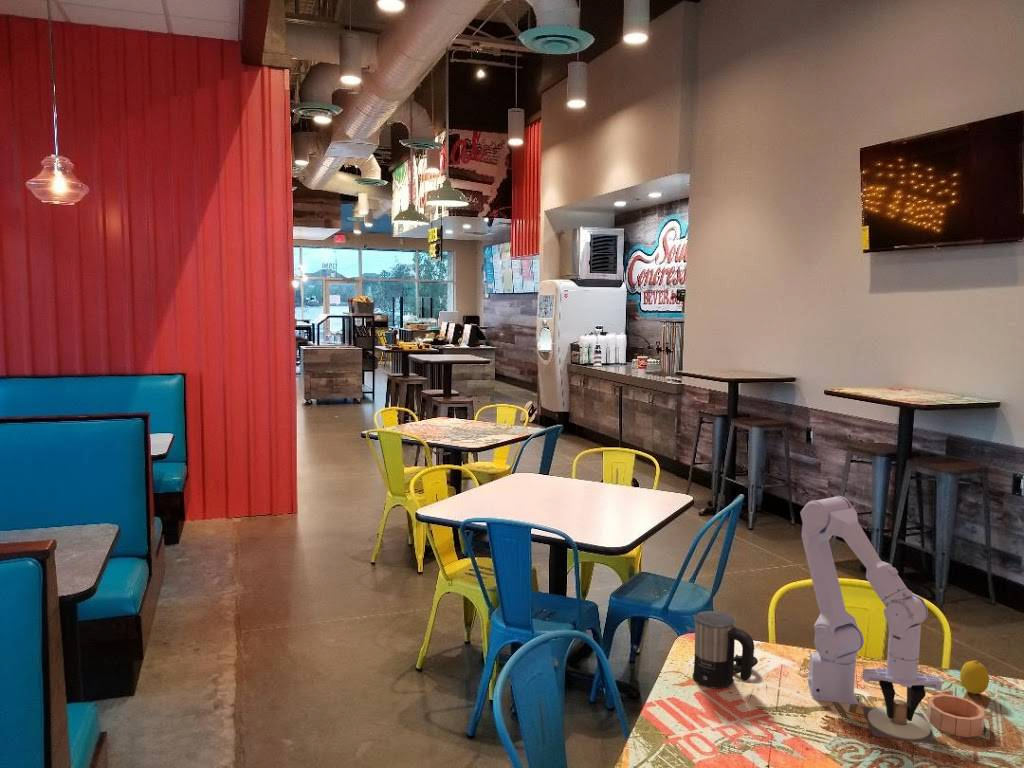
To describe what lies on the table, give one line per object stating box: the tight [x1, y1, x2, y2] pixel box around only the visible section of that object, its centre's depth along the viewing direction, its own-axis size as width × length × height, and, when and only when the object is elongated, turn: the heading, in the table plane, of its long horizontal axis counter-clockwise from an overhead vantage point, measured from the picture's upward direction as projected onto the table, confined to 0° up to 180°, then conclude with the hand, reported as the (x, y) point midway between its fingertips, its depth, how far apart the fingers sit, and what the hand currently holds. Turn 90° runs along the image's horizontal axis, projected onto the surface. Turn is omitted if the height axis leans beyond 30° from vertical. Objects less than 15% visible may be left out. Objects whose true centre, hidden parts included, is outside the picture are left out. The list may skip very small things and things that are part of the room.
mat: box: [861, 705, 940, 745], centre depth 161 cm, size 12×12×1 cm
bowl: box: [926, 693, 986, 738], centre depth 162 cm, size 10×10×4 cm
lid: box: [867, 698, 932, 741], centre depth 161 cm, size 12×12×5 cm
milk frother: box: [692, 610, 759, 689], centre depth 182 cm, size 14×16×15 cm
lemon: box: [959, 659, 990, 695], centre depth 174 cm, size 6×6×8 cm
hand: (899, 717), depth 161 cm, fingers closed on lid, 3 cm apart
